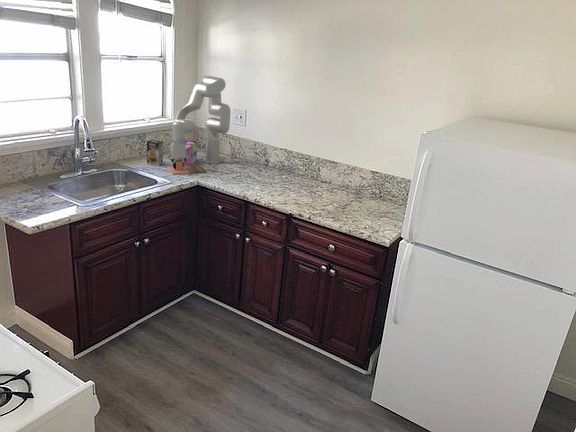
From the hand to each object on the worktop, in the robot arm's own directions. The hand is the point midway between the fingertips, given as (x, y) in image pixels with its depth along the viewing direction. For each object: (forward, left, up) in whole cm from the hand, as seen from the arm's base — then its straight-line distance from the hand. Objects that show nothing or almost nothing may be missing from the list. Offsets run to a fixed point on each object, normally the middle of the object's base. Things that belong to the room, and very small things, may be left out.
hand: (178, 168), depth 306 cm
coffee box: (+11, -18, -3) cm, 21 cm away
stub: (0, 0, -2) cm, 2 cm away
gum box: (-11, -18, -3) cm, 22 cm away
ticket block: (-11, 0, -2) cm, 12 cm away
